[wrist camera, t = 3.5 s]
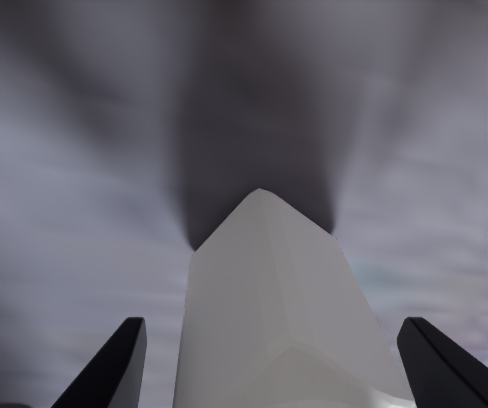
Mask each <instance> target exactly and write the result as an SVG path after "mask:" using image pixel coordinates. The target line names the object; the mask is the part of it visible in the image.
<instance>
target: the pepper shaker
mask: <svg viewBox="0 0 488 408" xmlns="http://www.w3.org/2000/svg"><path fill="white" fill-rule="evenodd" d="M415 406H416V403H415V398H414V396H413V394H412V392H411V390H410V388H409V386H408V384H407V382H406V380H405V378H404V376H403V374H402V372H401V370H400V368H399V366H398V364H397V361H396V359H395V357H394V355H393V353H392V351H391V349H390V347H389V345H388V343H387V341H386V339H385V337H384V335H383V333H382V331H381V329H380V327H379V325H378V323H377V321H376V319H375V317H374V315H373V313H372V311H371V309H370V307H369V304H368V302H367V300H366V298H365V296H364V294H363V292H362V290H361V288H360V286H359V284H358V282H357V280H356V278H355V276H354V274H353V272H352V270H351V268H350V266H349V264H348V262H347V260H346V258H345V256H344V254H343V252H342V250H341V247H340V245H339V243H338V241H337V239H336V238H334V237H333V236H331V235H330V234H329V233H327V232H326V231H325V230H323V229H322V228H320V227H319V226H318V225H316V224H315V223H314V222H312V221H311V220H310V219H308V218H307V217H305V216H304V215H303V214H301V213H300V212H299V211H297V210H296V209H295V208H293V207H292V206H290V205H289V204H288V203H286V202H285V201H284V200H282V199H281V198H279V197H278V196H277V195H275V194H274V193H272V192H269V191H267V190H264V189H260V188H258V189H256V190H255V191H253V192H251V193H249V194H248V195H247V197H246V198H245V199H244V200H243V201H242V202H241V203H240V204H239V205H238V206H237V207H236V208H235V209H234V211H233V212H232V213H231V214H230V215H229V216H228V217H227V218H226V219H225V220H224V221H223V222H222V224H221V225H220V226H219V227H218V228H217V229H216V230H215V231H214V232H213V233H212V234H211V236H210V237H209V238H208V239H207V240H206V241H205V242H204V243H203V244H202V245H201V246H200V247H199V249H198V250H197V251H196V252H195V253H194V254H193V255H192V258H191V262H190V265H189V272H188V281H187V289H186V298H185V306H184V315H183V323H182V332H181V340H180V348H179V357H178V365H177V374H176V382H175V391H174V399H173V407H172V408H415Z"/></svg>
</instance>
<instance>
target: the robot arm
mask: <svg viewBox="0 0 488 408" xmlns="http://www.w3.org/2000/svg"><path fill="white" fill-rule="evenodd" d="M397 346H398V349H399V352H400V356H401V359H402V362H403V365H404V368H405V372H406V375H407V378H408V381H409V385H410V388H411V391H412V394H413V396H414V398H415V403H416V406H417V408H488V367H486V366H485V365H484V364H483V363H481V362H480V361H479V360H477V359H476V358H475V357H473V356H472V355H471V354H470V353H468V352H467V351H466V350H464V349H463V348H462V347H460V346H459V345H458V344H457V343H455V342H454V341H453V340H451V339H450V338H449V337H447V336H446V335H445V334H444V333H442V332H441V331H440V330H438V329H437V328H436V327H434V326H433V325H432V324H431V323H429V322H428V321H427V320H425V319H424V318H422V317H407V318H406V319H405V320H404V322H403V325H402V327H401V329H400V332H399V334H398V337H397ZM146 347H147V336H146V327H145V320H144V318H143V317H128V318H127V319H126V320H125V321H124V322H123V323H122V324H121V325H120V327H119V328H118V329H117V330H116V331H115V332H114V334H113V335H112V336H111V337H110V338H109V340H108V341H107V342H106V343H105V344H104V345H103V347H102V348H101V349H100V350H99V351H98V353H97V354H96V355H95V356H94V357H93V358H92V360H91V361H90V362H89V363H88V364H87V365H86V367H85V368H84V369H83V370H82V371H81V373H80V374H79V375H78V376H77V377H76V378H75V380H74V381H73V382H72V383H71V384H70V386H69V387H68V388H67V389H66V390H65V391H64V393H63V394H62V395H61V396H60V397H59V398H58V400H57V401H56V402H55V403H54V404H53V406H52V407H51V408H138V402H139V396H140V389H141V382H142V375H143V368H144V361H145V354H146Z"/></svg>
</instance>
